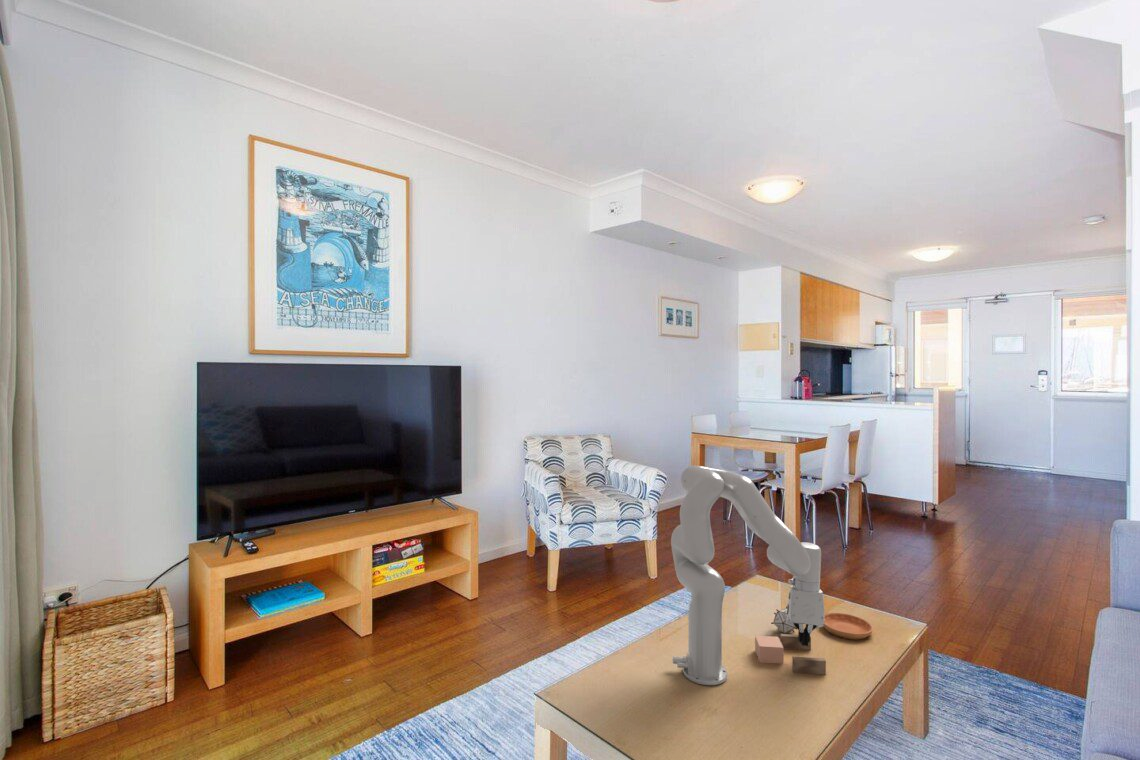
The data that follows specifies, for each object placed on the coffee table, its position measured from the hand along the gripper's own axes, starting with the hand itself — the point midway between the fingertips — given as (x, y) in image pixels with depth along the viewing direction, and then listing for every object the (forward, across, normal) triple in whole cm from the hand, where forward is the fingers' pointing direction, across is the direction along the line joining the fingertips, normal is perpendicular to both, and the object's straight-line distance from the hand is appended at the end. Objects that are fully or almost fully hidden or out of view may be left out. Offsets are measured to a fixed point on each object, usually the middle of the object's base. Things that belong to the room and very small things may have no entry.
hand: (803, 643), depth 171 cm
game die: (+5, -1, +18) cm, 19 cm away
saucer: (+4, +20, +22) cm, 31 cm away
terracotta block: (+6, -10, +1) cm, 11 cm away
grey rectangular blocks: (+5, 0, 0) cm, 5 cm away
